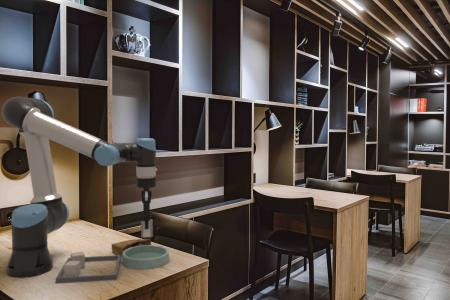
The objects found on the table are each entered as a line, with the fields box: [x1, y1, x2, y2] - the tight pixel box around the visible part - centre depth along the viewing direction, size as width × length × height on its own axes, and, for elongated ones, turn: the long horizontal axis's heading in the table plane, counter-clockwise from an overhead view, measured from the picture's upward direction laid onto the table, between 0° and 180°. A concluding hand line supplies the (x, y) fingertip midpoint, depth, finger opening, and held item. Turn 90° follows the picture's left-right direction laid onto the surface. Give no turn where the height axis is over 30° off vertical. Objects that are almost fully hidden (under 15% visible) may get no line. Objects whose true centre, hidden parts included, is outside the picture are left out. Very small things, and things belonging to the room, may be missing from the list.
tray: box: [55, 254, 122, 284], centre depth 141 cm, size 20×21×2 cm
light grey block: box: [63, 261, 82, 277], centre depth 134 cm, size 4×4×5 cm
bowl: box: [121, 244, 170, 270], centre depth 151 cm, size 18×18×4 cm
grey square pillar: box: [140, 218, 154, 239], centre depth 151 cm, size 4×4×6 cm
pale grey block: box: [70, 250, 86, 269], centre depth 144 cm, size 4×4×5 cm
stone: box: [111, 238, 152, 258], centre depth 162 cm, size 15×9×5 cm, turn 127°
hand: (146, 234), depth 151 cm, fingers closed on grey square pillar, 4 cm apart
